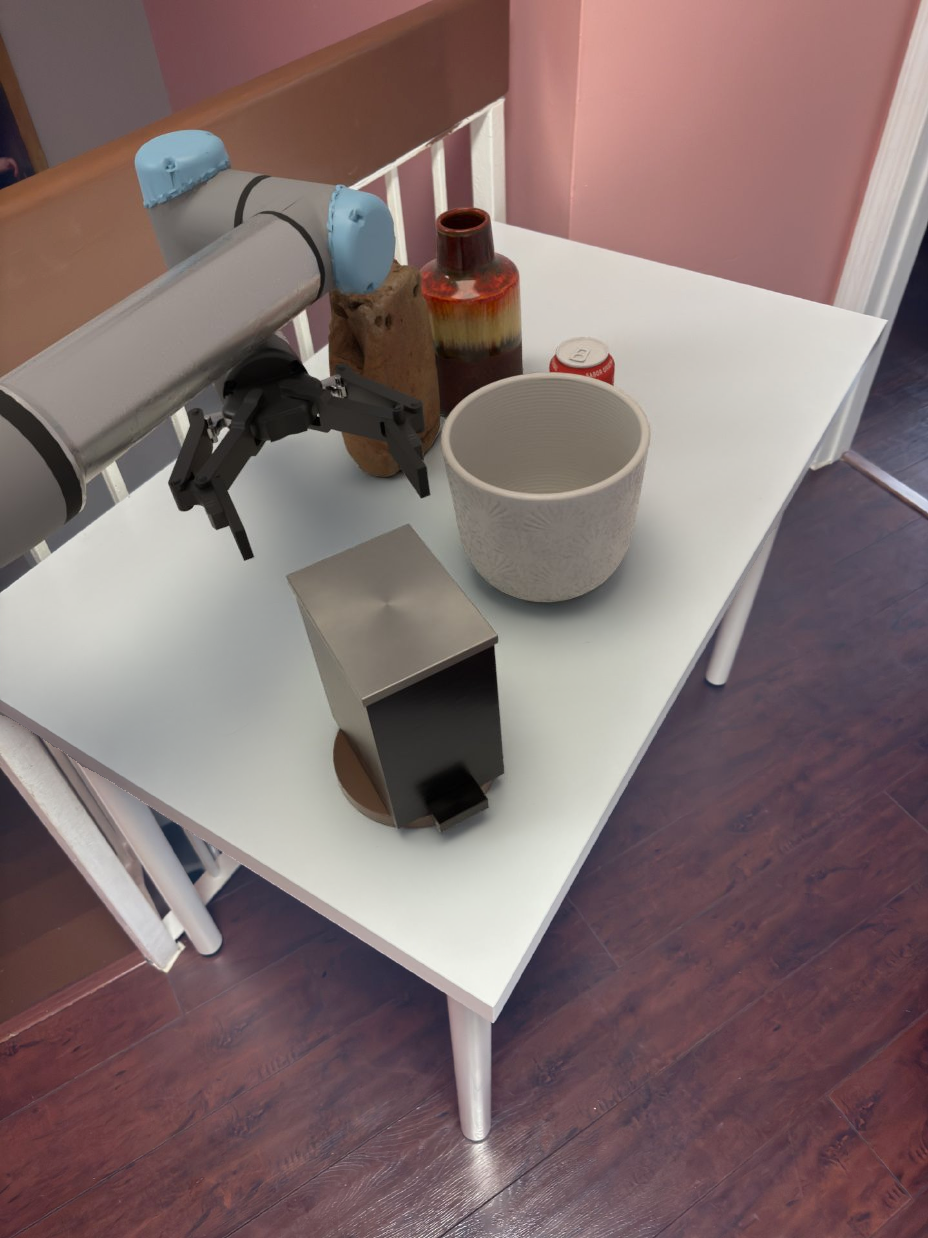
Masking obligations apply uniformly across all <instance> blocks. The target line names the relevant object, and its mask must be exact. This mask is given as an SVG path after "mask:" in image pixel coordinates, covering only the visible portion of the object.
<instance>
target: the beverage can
mask: <svg viewBox="0 0 928 1238" xmlns="http://www.w3.org/2000/svg"><path fill="white" fill-rule="evenodd" d="M548 365H549V366H548V368H549V369H548V372H555V373H569V374H576V375H582V376H586V377H591V378H594V379H597V380H600V381H603V382H606V383H608V384H610V385H612V386H615V370H616V368H615V366H616V364H615V359H614V358H613V356H612V355H611V354H610V351H609V347H608V346H607V344H606V343H604V342H603V341H601V340H600V339H597V338H593V337H589V336H577V337H573V338H569V339H567V340H564V341H562V342H561V343H560V344H559V345H558V346H557V348H556V350H555V354H554V355H553V356H552V358H551V359H550V361H549V364H548Z"/></svg>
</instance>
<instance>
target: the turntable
mask: <svg viewBox="0 0 928 1238" xmlns="http://www.w3.org/2000/svg"><path fill="white" fill-rule="evenodd" d="M332 762H333V766H334V767H333V768H334V771H335V774H336V777H337V780H338V784H339V786H340V789H341V791H342V793H343V795H344V797H346V799H347V800H348V802H349V803H350V804H351V805H352V806H353V807H354V808H355V809H356V810H357V811H359V812H360V813H361V814H362V815H364V816H365V817H367V818H369V819H370V820H372V821H375V822H376V823H378V824H379V823H380V824H382V825H385V826H390V827H394V828H397V827H396V825H395V824H394V822H393V820H392V818H391V817H390V815H389V813H388V811H387V810H386V808H385V806H384V804H383V803H382V801H381V799H380V797H379V796H378V794H377V792H376V791H375V789H374V787H373V785H372V784H371V782H370V780H369V778H368V777H367V775H366V773H365V771H364V770H363V768H362V766H361V764H360V763H359V761H358V759H357V757H356V756H355V754H354V752H353V751H352V749H351V747H350V745H349V744H348V742H347V740H346V738H345V737H344V735H343V733H342V731H341V730H340V728H339V727H338V730H337V731H336V736H335V739H334V743H333V749H332ZM494 780H495V779H493V780H491V781H489V782H487V783H485V784H484V785H482V786H480V788H481V789H482V791H483V792H484V794H485V795H486V794H487V792H488V790H489V789H490V788H491V786H492V784H493V782H494ZM434 826H436V824H435V823H434V821H433V819H432V818H431V816H430V814H429V813H428V814H427V815H425V816H423V817H421V818H419V819H417V820H415V821H413V822H411V823H409V824H408V825H406V826H404V827H402V828H401V829H422V828H431V827H434Z"/></svg>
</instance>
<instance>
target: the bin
mask: <svg viewBox="0 0 928 1238" xmlns="http://www.w3.org/2000/svg"><path fill="white" fill-rule="evenodd" d="M285 579H286V582H287V585H288V586H289V588H290V589H291V591H292V593H293V595H294V596H295V600H296V603H297V607H298V609H299V612H300V616H301V619H302V622H303V626H304V629H305V631H306V635H307V638H308V642H309V644H310V648H311V651H312V654H313V657H314V661H315V664H316V668H317V670H318V674H319V677H320V680H321V683H322V687H323V690H324V693H325V696H326V699H327V703H328V706H329V709H330V712H331V716H332V718H333V719H334V721H335V723H336V725H337V726H338V729H339V728H340V730H341V731H342V733H343V735H344V737H345V738H346V740H347V742H348V744H349V745H350V747H351V749H352V751H353V752H354V754H355V756H356V757H357V759H358V761H359V763H360V764H361V766H362V768H363V770H364V771H365V773H366V775H367V777H368V778H369V780H370V782H371V784H372V785H373V787H374V789H375V791H376V792H377V794H378V796H379V797H380V799H381V801H382V803H383V804H384V806H385V808H386V810H387V811H388V813H389V815H390V817H391V818H392V820H393V822H394V824H395V825H396V827H395V828H396V829H397V830H400V829H403V828H402V827H404V826H406V825H408V824H409V823H411V822H413V821H415V820H417V819H419V818H421V817H423V816H425V815H427V814H428V813H429V814H430V816H431V818H432V819H433V821H434V823H435V824H436V825H435V826H436V827H437V829H438V831H439V832H440V834H442V833H444V832H446V831H448V830H450V829H451V828H454V827H456V826H457V825H459V824H461V823H463V822H465V821H467V820H469V819H470V818H472V817H474V816H476V815H478V814H480V813H481V812H483V811H485V810H487V809H490V805H489V804H490V803H489V799H488V797H487V795H486V793H485V794H484V792H483V791H482V789H481V788H480V786H482V785H484V784H485V783H487V782H489V781H491V780H493V779H494V780H496V779H497V778H498V777H501V776H502V775H504V774H505V763H504V751H503V738H502V723H501V712H500V711H501V709H500V700H499V699H500V697H499V687H498V685H499V684H498V671H497V661H496V646H495V645H497V644H499V635H498V633H497V632H496V631H495V629H494V628H493V627H492V626H491V624H490V623H489V621H487V619H486V618H485V617H484V615H483V614H482V613H481V612H480V610H479V609H478V607H476V605H474V603H473V602H472V601H471V599H470V598H469V597H468V596H467V594H466V593H465V592H464V591H463V590H462V588H461V587H460V585H458V583H457V582H456V580H454V578H453V577H452V576H451V574H450V573H449V572H448V571H447V570H446V568H445V567H444V566H443V564H442V563H441V562H440V561H439V559H438V558H437V557H436V556H435V554H434V553H433V552H432V550H431V549H430V548H429V546H428V545H427V544H426V543H425V542H424V540H423V539H422V538H421V536H419V534H418V533H417V532H416V531H415V529H414V528H413V526H411V524H410V523H406V524H404V525H401V526H399V527H397V528H395V529H392V530H390V531H387V532H385V533H383V534H380V535H378V536H375V537H374V538H370V539H369V540H366V541H364V542H361V543H359V544H356V545H354V546H352V547H350V548H347V549H346V550H343V551H340V552H338V553H335V554H333V555H331V556H328V557H326V558H324V559H322V560H319V561H317V562H314V563H312V564H310V565H307V566H305V567H302V568H300V569H298V570H296V571H295V570H294V571H293V572H291V573H289V574H286V575H285ZM494 780H493V781H494Z"/></svg>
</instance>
